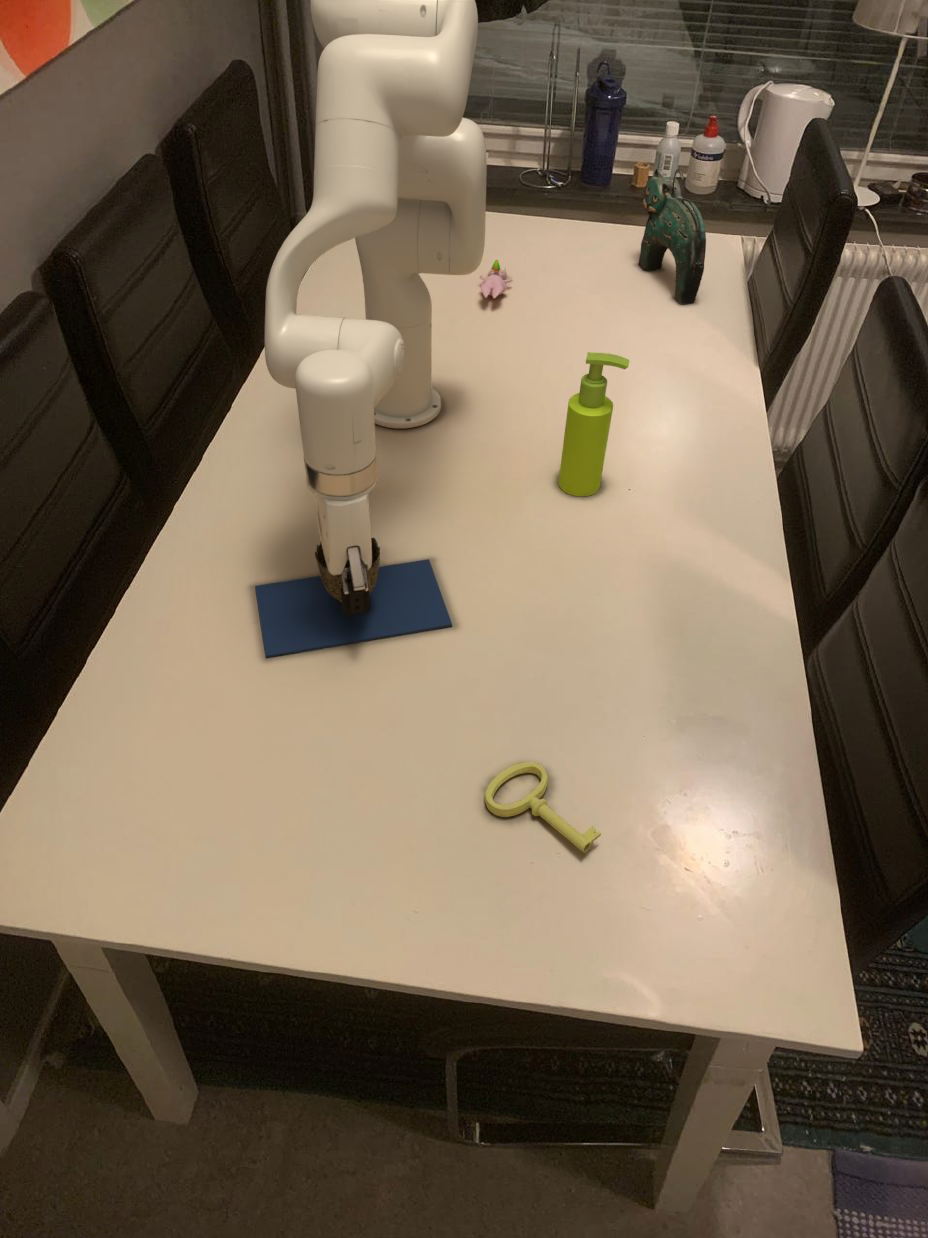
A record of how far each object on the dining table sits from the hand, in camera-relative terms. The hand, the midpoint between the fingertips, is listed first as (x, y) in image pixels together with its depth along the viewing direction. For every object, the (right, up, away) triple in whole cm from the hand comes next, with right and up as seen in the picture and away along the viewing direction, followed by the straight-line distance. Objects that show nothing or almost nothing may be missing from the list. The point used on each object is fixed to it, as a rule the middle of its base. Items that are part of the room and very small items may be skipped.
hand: (350, 589), depth 109 cm
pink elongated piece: (+19, +57, +61) cm, 86 cm away
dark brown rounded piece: (0, -1, +1) cm, 2 cm away
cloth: (0, -2, +2) cm, 3 cm away
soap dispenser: (+30, +15, +21) cm, 40 cm away
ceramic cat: (+52, +61, +67) cm, 105 cm away
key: (+21, -23, -18) cm, 36 cm away
